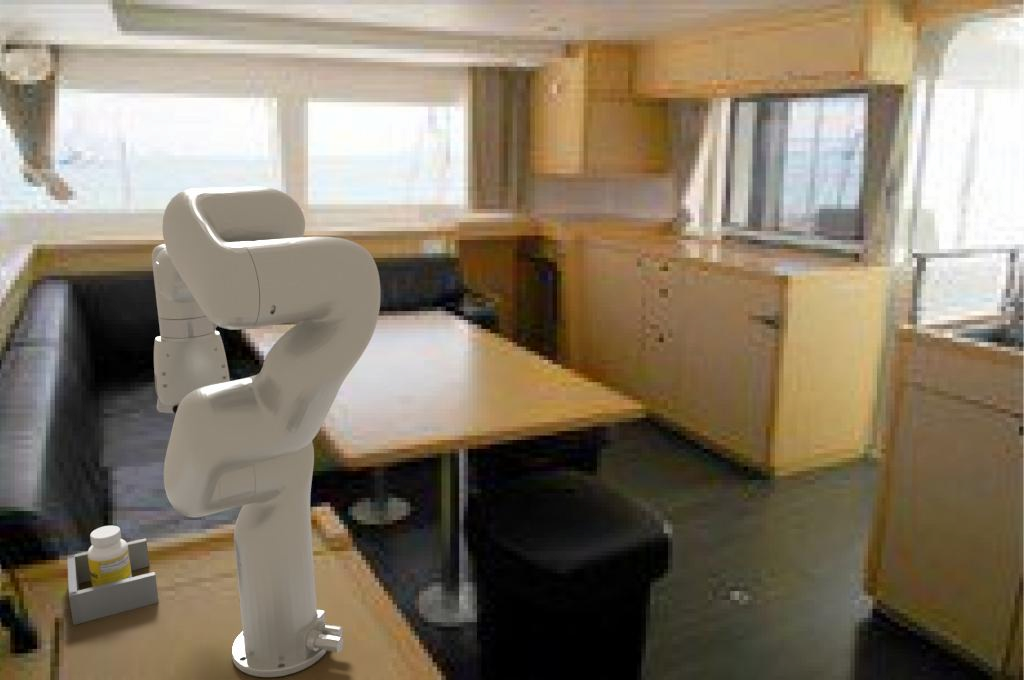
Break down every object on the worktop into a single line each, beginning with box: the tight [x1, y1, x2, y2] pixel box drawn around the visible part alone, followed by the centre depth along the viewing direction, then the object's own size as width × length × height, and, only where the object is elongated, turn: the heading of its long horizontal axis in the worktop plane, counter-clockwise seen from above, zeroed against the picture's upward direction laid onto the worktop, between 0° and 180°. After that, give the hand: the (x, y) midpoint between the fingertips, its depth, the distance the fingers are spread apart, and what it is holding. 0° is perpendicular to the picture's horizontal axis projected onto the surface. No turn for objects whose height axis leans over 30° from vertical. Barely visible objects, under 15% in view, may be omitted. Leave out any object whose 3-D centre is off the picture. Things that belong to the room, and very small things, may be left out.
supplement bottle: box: [87, 525, 133, 587], centre depth 115 cm, size 5×5×10 cm
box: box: [66, 537, 160, 626], centre depth 115 cm, size 11×13×4 cm
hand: (199, 443), depth 117 cm, fingers closed
